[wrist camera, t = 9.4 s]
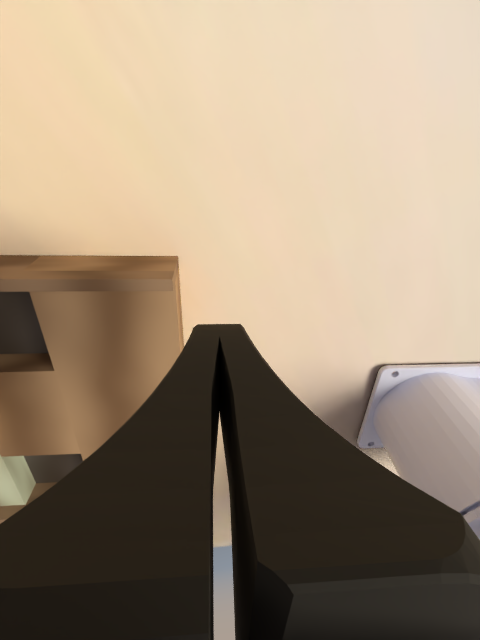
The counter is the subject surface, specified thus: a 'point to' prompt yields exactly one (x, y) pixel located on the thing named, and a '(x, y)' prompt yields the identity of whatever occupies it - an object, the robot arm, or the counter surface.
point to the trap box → (77, 359)
